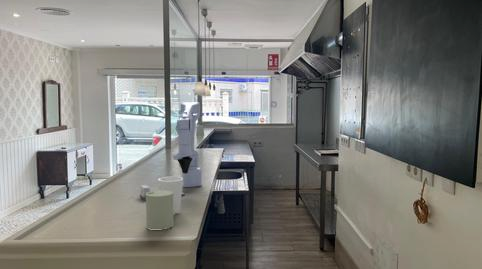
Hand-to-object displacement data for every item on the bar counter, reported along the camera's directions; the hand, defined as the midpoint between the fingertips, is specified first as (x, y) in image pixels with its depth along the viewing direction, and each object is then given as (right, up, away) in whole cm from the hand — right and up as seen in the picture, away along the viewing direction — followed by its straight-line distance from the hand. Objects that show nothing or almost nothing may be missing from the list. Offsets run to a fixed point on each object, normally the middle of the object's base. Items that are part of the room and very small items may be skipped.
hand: (185, 173), depth 167 cm
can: (-1, -13, -46) cm, 48 cm away
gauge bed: (-10, -10, -4) cm, 14 cm away
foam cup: (-1, -12, -30) cm, 32 cm away
